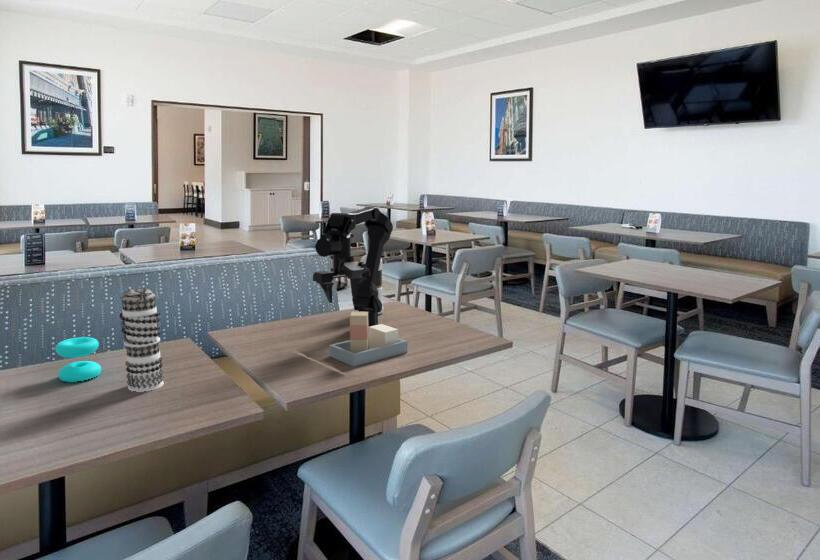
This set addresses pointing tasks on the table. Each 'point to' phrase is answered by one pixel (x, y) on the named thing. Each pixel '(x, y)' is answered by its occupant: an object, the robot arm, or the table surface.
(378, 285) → the vodka
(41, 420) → the table surface
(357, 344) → the oat carton
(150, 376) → the decorative candle
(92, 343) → the donuts
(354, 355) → the tote
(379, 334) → the cream rectangular block
